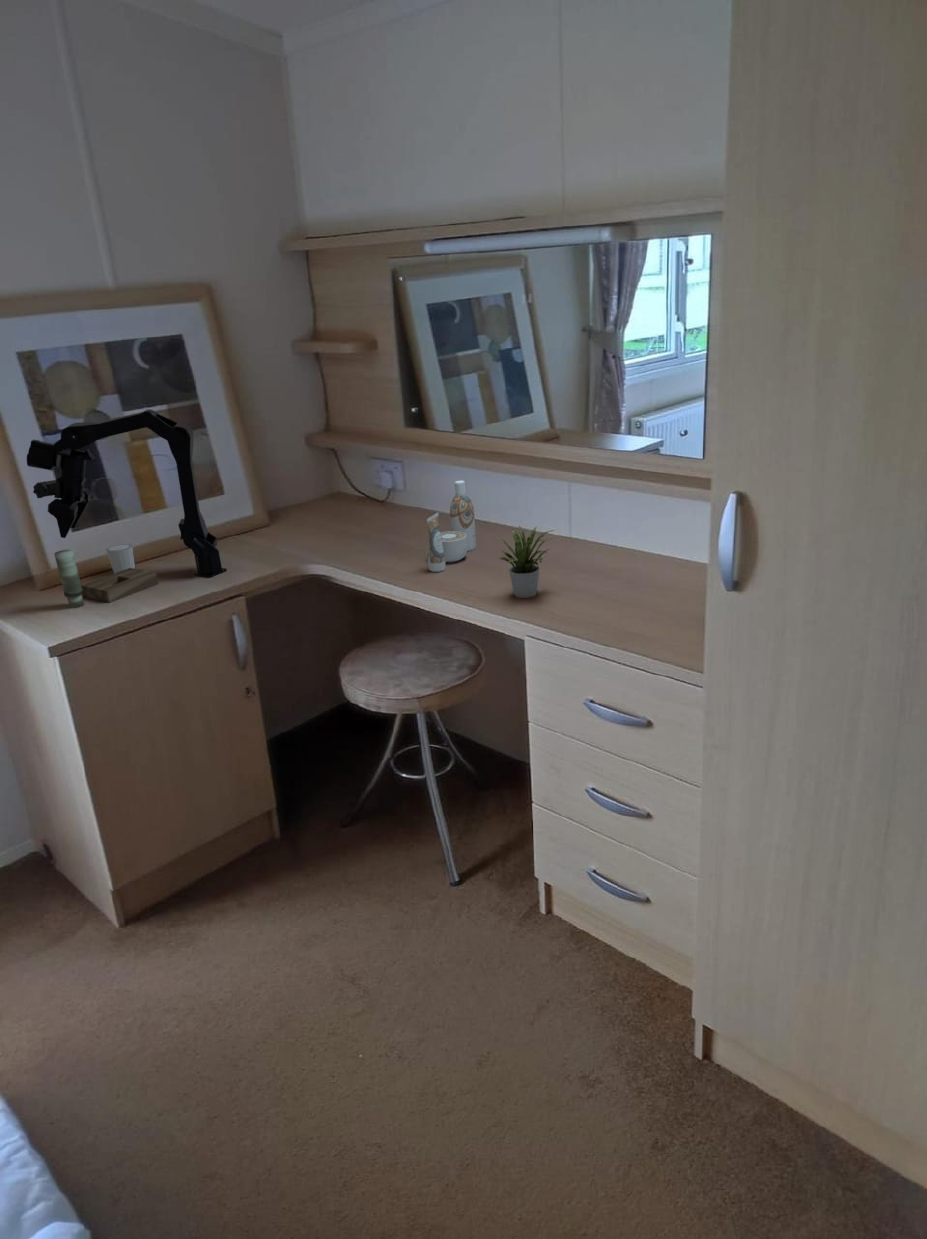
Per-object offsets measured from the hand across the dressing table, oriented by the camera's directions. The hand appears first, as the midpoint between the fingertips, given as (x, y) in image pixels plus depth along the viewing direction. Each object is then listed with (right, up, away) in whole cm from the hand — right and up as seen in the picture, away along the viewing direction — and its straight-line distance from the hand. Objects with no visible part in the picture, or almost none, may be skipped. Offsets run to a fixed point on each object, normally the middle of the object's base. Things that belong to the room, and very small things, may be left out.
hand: (67, 532), depth 229 cm
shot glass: (+8, -9, +17) cm, 21 cm away
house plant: (+118, -17, -22) cm, 121 cm away
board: (+13, -15, +1) cm, 20 cm away
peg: (+6, -19, -7) cm, 21 cm away
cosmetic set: (+99, -7, +7) cm, 100 cm away
